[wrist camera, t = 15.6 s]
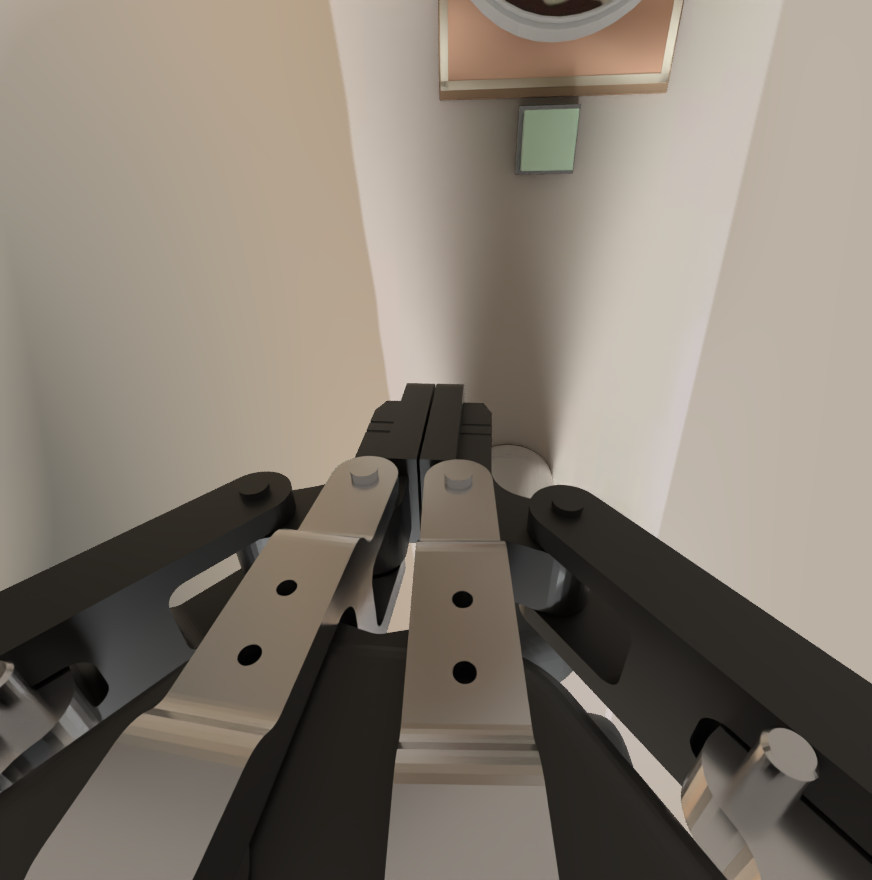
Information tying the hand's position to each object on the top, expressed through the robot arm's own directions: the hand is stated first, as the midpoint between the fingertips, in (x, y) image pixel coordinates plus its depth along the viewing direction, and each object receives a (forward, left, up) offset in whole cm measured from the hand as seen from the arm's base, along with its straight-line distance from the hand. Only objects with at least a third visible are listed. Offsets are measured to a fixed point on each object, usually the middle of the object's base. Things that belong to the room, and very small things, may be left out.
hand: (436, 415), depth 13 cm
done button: (+6, -5, -28) cm, 29 cm away
